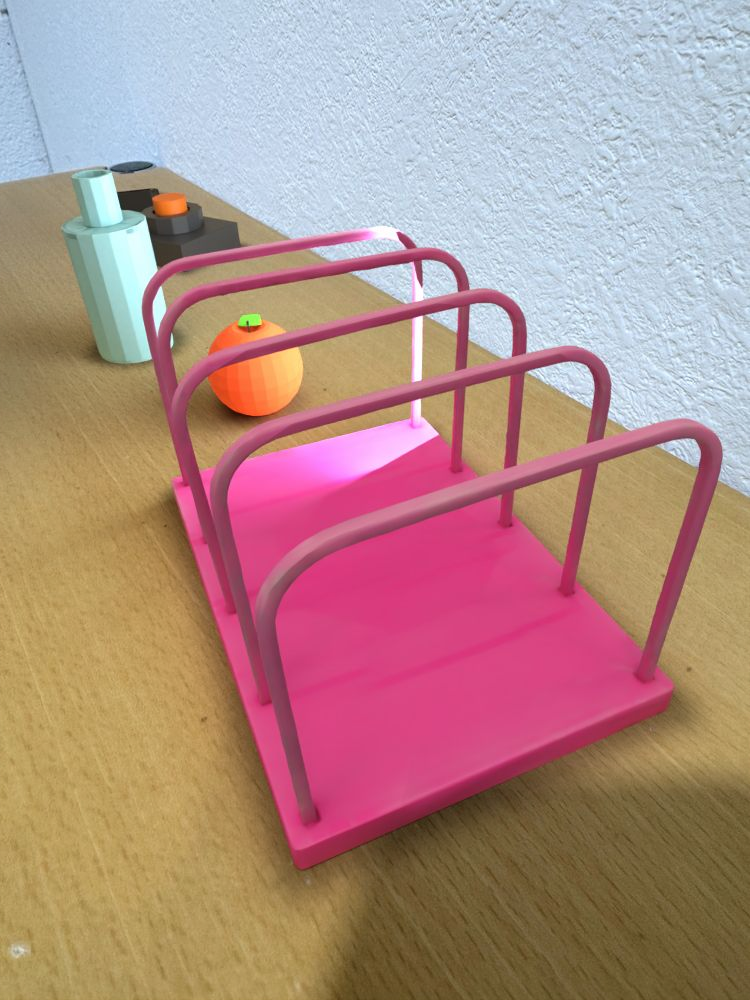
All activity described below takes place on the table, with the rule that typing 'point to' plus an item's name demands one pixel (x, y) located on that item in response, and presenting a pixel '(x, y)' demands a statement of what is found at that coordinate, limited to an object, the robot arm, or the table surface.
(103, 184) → the mint green bottle
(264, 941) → the table surface
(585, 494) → the file sorter
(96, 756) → the table surface
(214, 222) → the dock
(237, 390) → the clementine
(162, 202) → the button
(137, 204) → the phone
